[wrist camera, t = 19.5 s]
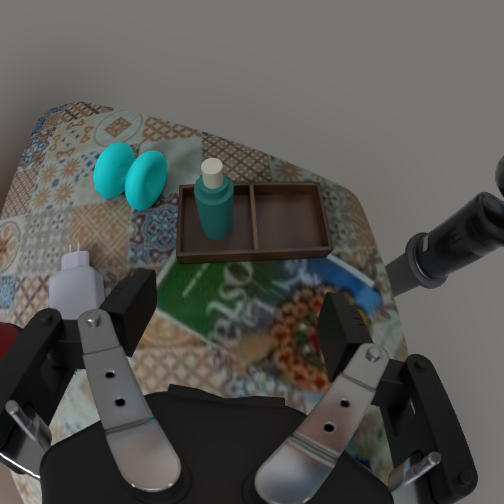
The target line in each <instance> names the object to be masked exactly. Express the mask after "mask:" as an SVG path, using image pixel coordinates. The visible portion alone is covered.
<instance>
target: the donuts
mask: <svg viewBox="0 0 504 504" xmlns="http://www.w3.org/2000/svg"><path fill="white" fill-rule="evenodd" d="M166 177H167V162H166V159H165V157H164V156H163V154H162V153H160V152H159V151H155V150H150V151H147V152H144V153H143V154H141V155H140V156H139V157H138V158H137V159H136V160H135V154H134V151H133V149H132V148H131V147H130V146H129V145H128V144H126V143H124V142H116V143H113V144H111V145H110V146H108V147H107V148H106V149H105V150H104V151H103V152H102V154H101V155H100V157H99V158H98V161H97V163H96V166H95V170H94V185H95V188H96V190H97V192H98V193H99V194H100V195H101V196H102V197H104V198H114V197H117V196H119V195H120V194H121V193H123V192H124V191H125V195H126V199H127V201H128V203H129V204H130V206H131V207H133V208H134V209H137V210H145V209H147V208H149V207H151V206H152V205H153V204H154V203H155V202H156V200H157V199H158V197H159V196H160V194H161V192H162V190H163V188H164V185H165V181H166Z"/></svg>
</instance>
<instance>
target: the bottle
mask: <svg viewBox="0 0 504 504" xmlns="http://www.w3.org/2000/svg"><path fill="white" fill-rule="evenodd" d="M201 169H202V175H201V176H200V178H199V179H198V180H197V181H196V183H195V186H194V194H195V199H196V204H197V209H198V214H199V218H200V223H201V228H202V231H203V233H204V235H205V236H206V237H208V238H209V239H212V240H222V239H224V238H226V237H227V236H228V235H229V234H230V233H231V231H232V228H233V192H234V186H233V183H232V181H231V179H230V178H229V177H228V176H226V174H225V173H223V164H222V162H221V161H220V160H219V159H216V158H209V159H206V160H205V161H204V162H203V163H202V165H201Z"/></svg>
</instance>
